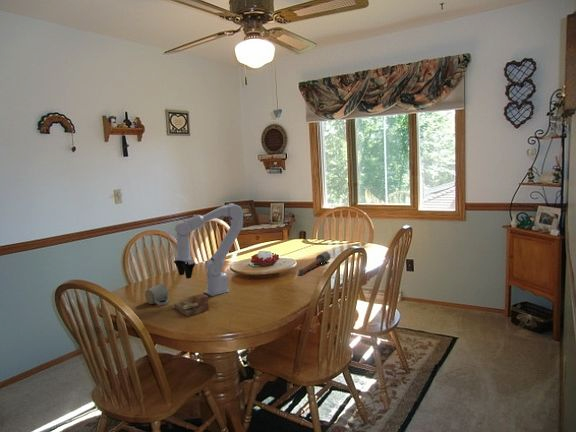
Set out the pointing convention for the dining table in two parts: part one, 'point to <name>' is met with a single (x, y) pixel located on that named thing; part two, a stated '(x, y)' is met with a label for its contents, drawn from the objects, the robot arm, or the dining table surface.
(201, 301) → the block with upright post
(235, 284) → the dining table surface
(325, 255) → the mallet
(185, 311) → the board
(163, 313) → the dining table surface
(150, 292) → the ceramic mug
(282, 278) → the dining table surface
